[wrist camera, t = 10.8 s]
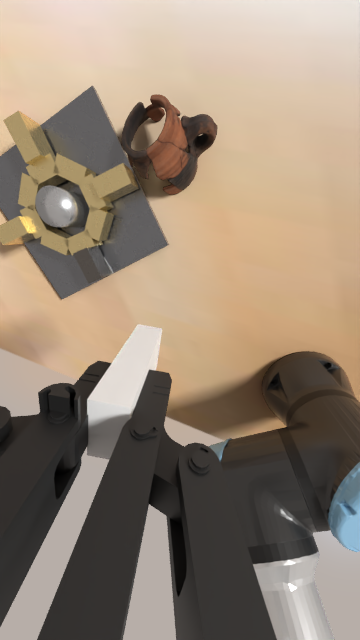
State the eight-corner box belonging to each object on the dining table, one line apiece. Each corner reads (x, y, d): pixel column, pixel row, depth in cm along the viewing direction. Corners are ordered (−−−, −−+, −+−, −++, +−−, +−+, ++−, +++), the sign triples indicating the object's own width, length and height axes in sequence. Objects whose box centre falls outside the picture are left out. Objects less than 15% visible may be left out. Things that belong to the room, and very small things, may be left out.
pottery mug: (155, 209, 36) (120, 178, 28) (147, 154, 36) (111, 110, 29) (229, 175, 30) (211, 126, 23) (218, 113, 31) (197, 46, 24)
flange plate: (168, 244, 37) (162, 247, 31) (65, 297, 42) (42, 309, 36) (95, 89, 30) (69, 55, 24) (-17, 175, 35) (-62, 164, 29)
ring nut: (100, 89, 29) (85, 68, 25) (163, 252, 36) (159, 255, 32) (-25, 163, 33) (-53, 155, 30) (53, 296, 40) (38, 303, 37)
